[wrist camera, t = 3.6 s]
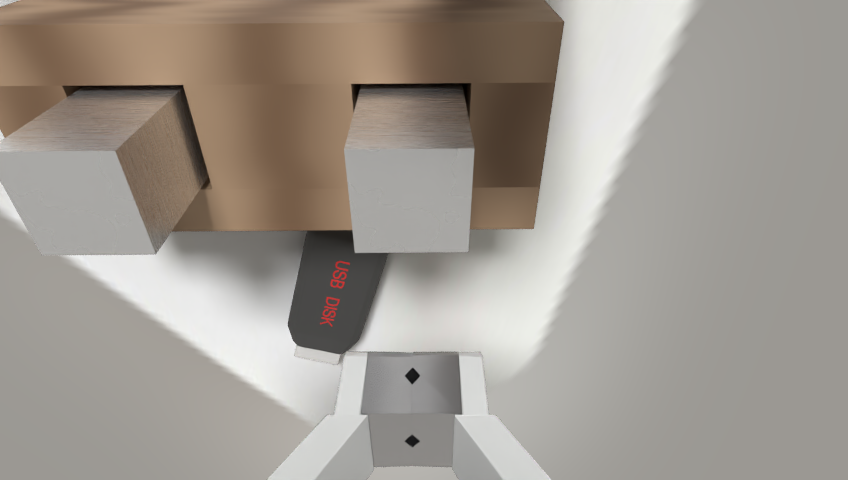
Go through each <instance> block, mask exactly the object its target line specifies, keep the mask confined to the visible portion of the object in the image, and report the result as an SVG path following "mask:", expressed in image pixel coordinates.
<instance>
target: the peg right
mask: <svg viewBox="0 0 848 480" xmlns="http://www.w3.org/2000/svg"><path fill="white" fill-rule="evenodd" d="M344 154H345V164H346V173H347V183H348V192H349V202H350V212H351V221H352V231H353V240H354V250H355V253H416V252H468V250H469V233H470V216H471V199H472V182H473V165H474V143H473V138H472V133H471V128H470V123H469V118H468V112H467V107H466V102H465V97H464V92H463V87H462V83H403V84H361V88H360V91H359V95H358V99H357V102H356V106H355V110H354V114H353V117H352V121H351V125H350V129H349V132H348V136H347V140H346V144H345V147H344Z"/></svg>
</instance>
